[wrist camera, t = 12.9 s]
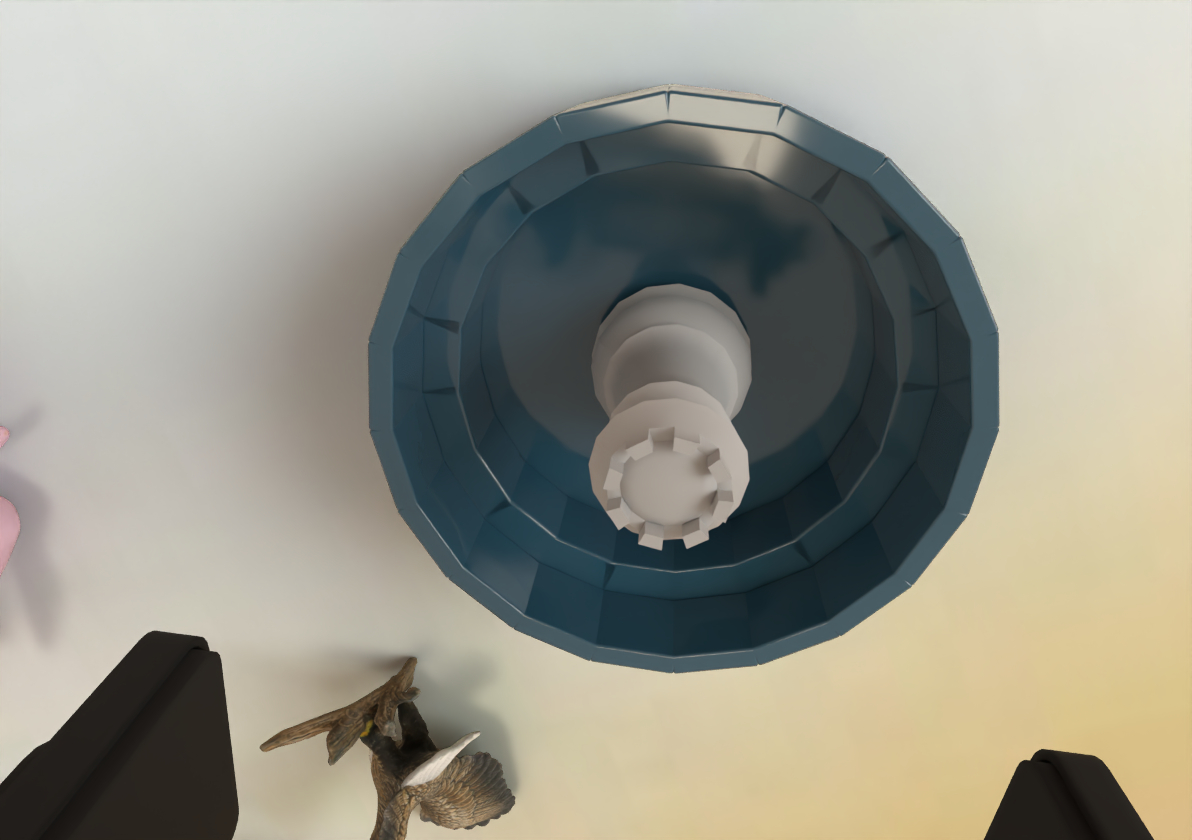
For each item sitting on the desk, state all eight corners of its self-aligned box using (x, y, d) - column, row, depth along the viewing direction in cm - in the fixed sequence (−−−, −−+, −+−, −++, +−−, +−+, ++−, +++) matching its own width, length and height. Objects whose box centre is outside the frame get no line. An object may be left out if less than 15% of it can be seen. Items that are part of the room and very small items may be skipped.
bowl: (429, 521, 26) (371, 628, 21) (440, 54, 20) (363, 52, 15) (856, 584, 26) (899, 709, 21) (996, 122, 20) (1103, 142, 15)
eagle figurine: (254, 690, 29) (320, 897, 30) (261, 796, 22) (345, 1050, 24) (455, 615, 32) (504, 808, 33) (513, 689, 25) (570, 924, 27)
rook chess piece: (568, 386, 23) (517, 533, 16) (637, 250, 21) (616, 347, 14) (702, 451, 24) (712, 623, 16) (781, 324, 22) (832, 454, 15)
